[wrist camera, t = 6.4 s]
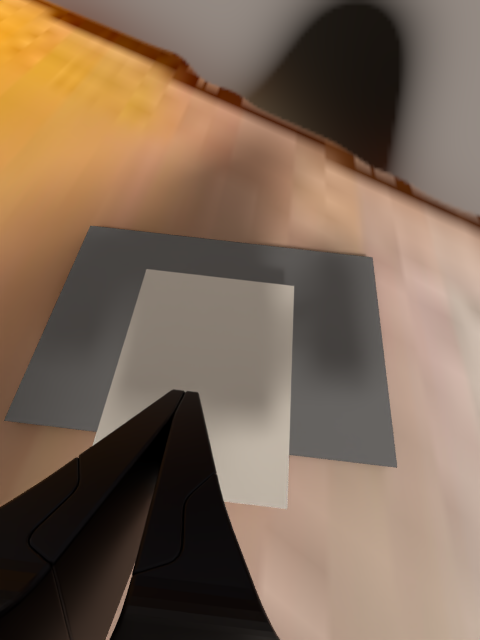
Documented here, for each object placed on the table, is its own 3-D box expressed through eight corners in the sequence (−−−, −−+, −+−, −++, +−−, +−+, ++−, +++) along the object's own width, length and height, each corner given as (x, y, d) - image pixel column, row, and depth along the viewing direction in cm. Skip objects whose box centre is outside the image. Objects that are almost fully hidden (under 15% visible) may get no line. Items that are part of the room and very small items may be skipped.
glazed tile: (287, 509, 10) (294, 285, 14) (80, 483, 10) (146, 269, 14) (275, 495, 13) (284, 308, 17) (109, 474, 13) (158, 293, 17)
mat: (390, 466, 14) (397, 467, 13) (12, 421, 14) (4, 420, 13) (368, 262, 19) (372, 257, 19) (94, 231, 19) (90, 225, 19)
